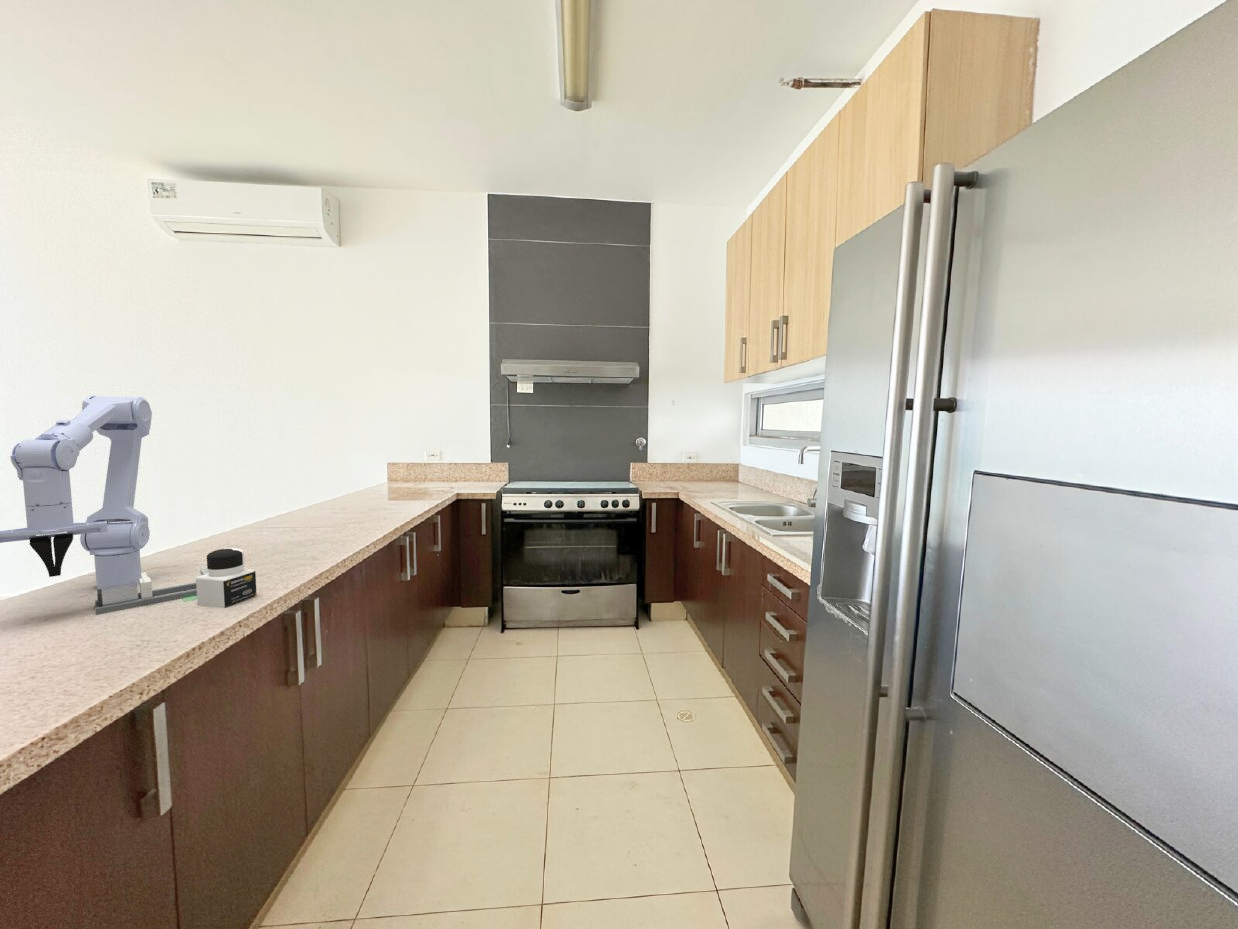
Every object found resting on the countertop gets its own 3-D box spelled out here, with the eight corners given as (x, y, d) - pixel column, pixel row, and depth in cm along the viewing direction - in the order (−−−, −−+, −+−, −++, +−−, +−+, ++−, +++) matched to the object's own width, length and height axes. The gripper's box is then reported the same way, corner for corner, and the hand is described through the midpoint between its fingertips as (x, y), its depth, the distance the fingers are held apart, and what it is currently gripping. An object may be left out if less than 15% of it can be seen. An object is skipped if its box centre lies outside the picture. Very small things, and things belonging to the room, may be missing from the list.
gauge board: (95, 608, 102) (93, 583, 101) (208, 587, 115) (206, 565, 114) (96, 625, 93) (94, 598, 93) (217, 601, 107) (216, 577, 106)
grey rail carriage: (98, 606, 99) (96, 587, 99) (137, 599, 103) (135, 581, 103) (98, 612, 96) (97, 592, 96) (138, 604, 100) (137, 585, 100)
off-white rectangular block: (139, 596, 105) (137, 573, 105) (149, 594, 106) (148, 571, 106) (143, 607, 99) (141, 583, 99) (154, 605, 100) (152, 581, 100)
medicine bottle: (225, 614, 100) (222, 556, 99) (197, 610, 101) (193, 553, 100) (257, 601, 107) (255, 547, 106) (230, 598, 108) (227, 545, 107)
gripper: (-17, 511, 84) (-10, 589, 85) (105, 502, 95) (111, 571, 96) (-12, 506, 89) (-5, 580, 90) (104, 497, 99) (109, 564, 100)
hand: (55, 575), depth 93 cm, fingers closed
